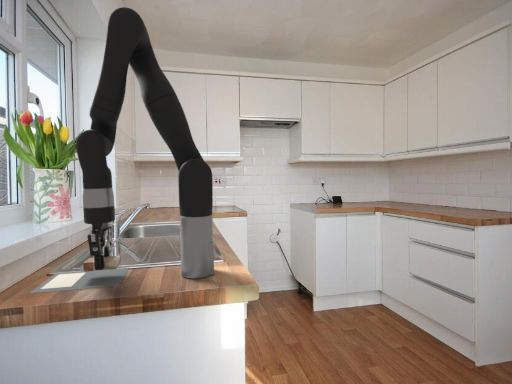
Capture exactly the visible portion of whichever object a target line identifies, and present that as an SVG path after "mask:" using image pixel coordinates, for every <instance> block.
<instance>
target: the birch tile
mask: <svg viewBox="0 0 512 384" xmlns="http://www.w3.org/2000/svg"><path fill="white" fill-rule="evenodd" d="M120 265H121V255H120V254H119V255H109V256H107V257H104V269H103V270H111V269H117V268H118V267H119V266H120ZM82 266H83V268H82V271H84V272H88V271H99V270H95V264H94V257H88V258H87V259H86V260H85V261H84V262H82Z"/></svg>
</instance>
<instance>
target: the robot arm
mask: <svg viewBox="0 0 512 384" xmlns="http://www.w3.org/2000/svg"><path fill="white" fill-rule="evenodd" d="M129 66H130V67H131V70H132V72H133V74H134V76H135V79H136V82H137V86H138V90H139V92H140V96H141V98H142V103H143V104H144V107H145V109H146V111H147V113H148V115H149V118H150V119H151V121H152V123H153V125H154V127H155V129H156V131H157V132H158V133H159V135H160V137H161V138H162V139H163V142H164V143H165V144H166V145H167V148H168V149H169V151H170V152H171V155H172V157H173V159H174V162H175V165H176V167H177V170H178V177H177V178H178V182H177V183H178V204H179V205H178V206H179V222H180V223H179V228H180V229H179V232H180V269H181V271H180V272H181V273H180V274H181V276H182V277H184V278H187V279H203V278H206V277H210V276H214V275H215V243H214V232H213V231H214V230H213V227H214V225H213V223H214V221H213V205H214V201H213V199H214V198H213V195H214V193H213V189H214V188H213V184H214V183H213V172H212V168H211V167H210V165H209V164H208V163H207V162H206V161H205V159H204V158H203V156H202V155H201V153H200V151H199V149H198V147H197V146H196V143H195V141H194V139H193V136H192V132H191V129H190V125H189V122H188V119H187V116H186V113H185V111H184V108H183V106H182V104H181V102H180V100H179V98H178V95H177V93H176V91H175V90H174V87H173V86H172V84H171V82H170V81H169V79H168V78H167V76H166V75H165V73H164V71H163V70H162V68H161V67H160V65H159V63H158V60H157V58H156V54H155V51H154V49H153V45H152V42H151V40H150V35H149V33H148V29H147V27H146V24H145V21H144V20H143V18H142V17H141V15H140V14H139V13H138V12H137V11H136V10H135V9H132V8H129V7H118V8H116V9H114V10H113V12H111V14H110V15H109V17H108V21H107V29H106V38H105V47H104V52H103V59H102V65H101V68H100V74H99V76H98V77H99V78H98V82H97V85H96V88H95V91H94V95H93V98H92V100H91V101H92V102H91V105H90V109H89V112H88V114H89V117H90V119H91V124H90V129H85V130H83V131H81V132H80V133H79V134H78V135H77V138H76V143H75V145H76V146H75V147H76V154H77V158H78V162H79V163H78V164H79V166H80V168H81V173H82V206H83V208H82V210H83V211H82V212H83V223H84V224H86V225H91V230H90V234H89V233H88V234H87V241H88V248H89V255H90V257H93V258H94V264H95V270H103V269H104V257H107V256H110V249H111V246H112V245H113V244H112V242H113V241H112V240H113V239H112V235H113V234H112V230H113V229H112V228H113V227H112V225H109V224H111V223H113V222H115V221H116V209H115V207H116V206H115V195H114V189H113V175H112V171H111V168H109V166H108V162H107V157H108V156H109V155H110V154H111V152H112V151H113V149H114V146H115V142H116V136H117V128H118V127H117V125H118V121H119V117H120V115H121V113H122V108H123V104H124V100H125V97H126V96H125V95H126V90H127V89H126V88H127V76H128V70H129Z"/></svg>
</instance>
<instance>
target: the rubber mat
mask: <svg viewBox="0 0 512 384" xmlns="http://www.w3.org/2000/svg"><path fill="white" fill-rule="evenodd" d="M129 270H130V267H121V268H120V267H119V268H118V267H117V269H111V270H99V271H88V272H84V271H83V270H81V271H79V270H78V271H64V272H63V271H62V272H55V273H54V274H53V275H52V276H50V277H49V278H47V279H46V280H45V281H43V282H42V283H41V284H39V285H37V287H36V288H34V289H33V290H31V291H30V292H29V294H37V293H38V294H39V293H47V292H48V293H51V292H62V291H72V290H73V291H74V290H84V289H85V290H86V289H96V288H107V287H109V288H110V287H118V286H120V284H121V283H122V281H123V280H124V278H125V277H126V275H127V273H128V272H129Z"/></svg>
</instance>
